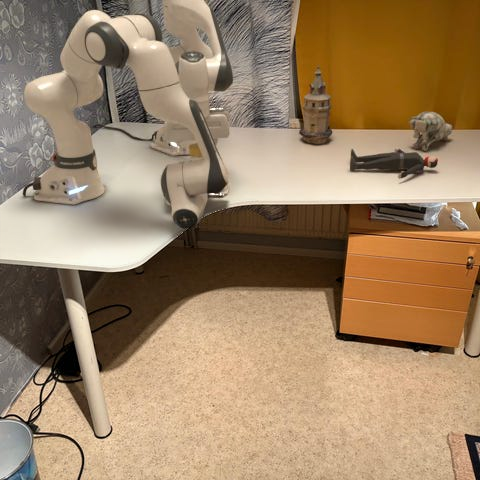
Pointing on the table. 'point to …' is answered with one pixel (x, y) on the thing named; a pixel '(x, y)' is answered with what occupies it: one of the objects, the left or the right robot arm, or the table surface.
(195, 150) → the lid
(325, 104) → the miniature building
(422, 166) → the toy
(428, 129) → the figurine
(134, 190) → the table surface
